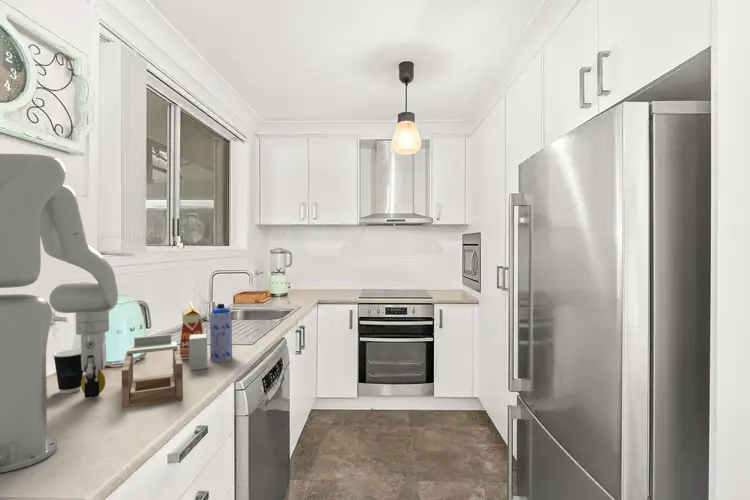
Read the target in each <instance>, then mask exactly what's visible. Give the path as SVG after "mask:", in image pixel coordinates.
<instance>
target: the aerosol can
mask: <svg viewBox="0 0 750 500" xmlns="http://www.w3.org/2000/svg"><path fill="white" fill-rule="evenodd" d="M232 317H233V314H232V311H231V310H230V309H229V308H227V307H226V306H225V304H224V303H218V304H217V307H215V308H214V309H213V310H212V311H211V312H210V313H209V333H210V334H209V337H210V338H209V340H210V341H209V343H210V345H209V346H210V347H209V349H210V352H209V353H210V358H209V361H211V362H226V361H231V360H232V359H233V357H234V356H233V325H232V324H233V318H232Z"/></svg>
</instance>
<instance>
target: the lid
mask: <svg viewBox="0 0 750 500" xmlns="http://www.w3.org/2000/svg"><path fill="white" fill-rule="evenodd" d="M133 340H134V342H133V343H134V345H129V346H128V347H127V351H128V354H133V355H135V354H144V353H145V354H146V353H153V352H154V353H155V352H165V351H173V350H175V349H177V345H178V343H177V341H172V334H171V333H168V334H167V333H166V334H159V335H157V334H156V335H146V336H134V338H133Z"/></svg>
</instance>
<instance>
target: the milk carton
mask: <svg viewBox="0 0 750 500" xmlns="http://www.w3.org/2000/svg"><path fill="white" fill-rule="evenodd" d="M200 313H201V312H200V311H199V309H197V308H196V307H195V306H194V305H193V302H192V301H190V305H189V306H187V307H186V308H184V309H182V325H181V334H180V342H179V351H180V355H181V359H182V360H189V338H190V335H195V334H204V328H203V322H202V317H201V314H200Z"/></svg>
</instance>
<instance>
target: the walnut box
mask: <svg viewBox="0 0 750 500" xmlns="http://www.w3.org/2000/svg"><path fill="white" fill-rule="evenodd" d="M179 349H180V346H179V345H178V344H177V349H175V350H172V369H173V370H172V373H167V374H158V375H151V376H150V375H149V376H142V377H136V378H135V377H134V354H128V350H126V353H125V357H124V360H123V363H122V368H121V410H126V409H131V408H138V407H139V408H140V407H142V406H143V407H144V406H150V405H156V404H157V405H158V404H164V403H169V401H171V402H177V401H182V400H181V399H184V390H183V389H184V386H183V384H184V381H183V377H184V376H183V359H181V355H180V351H179ZM176 400H177V401H176Z"/></svg>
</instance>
